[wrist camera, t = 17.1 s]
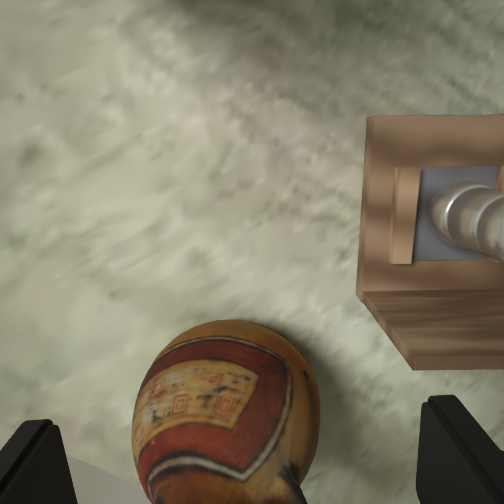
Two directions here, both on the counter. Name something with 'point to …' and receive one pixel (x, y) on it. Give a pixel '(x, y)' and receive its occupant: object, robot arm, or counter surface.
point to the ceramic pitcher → (226, 418)
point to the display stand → (430, 241)
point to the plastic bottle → (469, 217)
